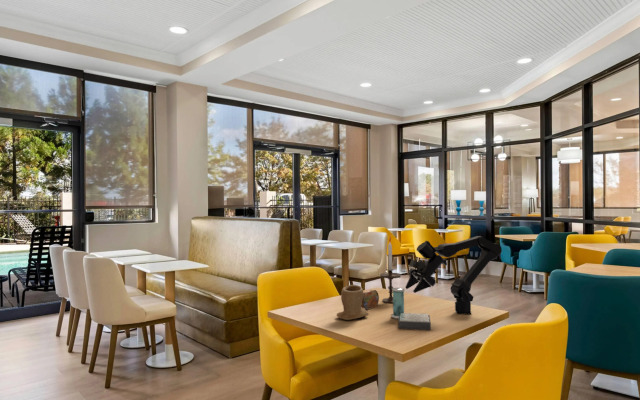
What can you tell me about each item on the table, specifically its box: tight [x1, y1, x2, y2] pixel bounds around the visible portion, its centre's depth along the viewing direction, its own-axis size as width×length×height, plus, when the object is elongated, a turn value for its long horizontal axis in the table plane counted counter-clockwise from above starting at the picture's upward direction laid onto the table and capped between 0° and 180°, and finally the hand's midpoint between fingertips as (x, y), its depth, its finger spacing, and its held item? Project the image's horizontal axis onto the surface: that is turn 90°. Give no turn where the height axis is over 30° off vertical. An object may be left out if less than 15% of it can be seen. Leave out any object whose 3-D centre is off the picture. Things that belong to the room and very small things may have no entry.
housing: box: [390, 287, 405, 320], centre depth 192 cm, size 7×7×13 cm
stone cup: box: [336, 284, 369, 321], centre depth 192 cm, size 15×12×15 cm
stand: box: [398, 312, 432, 331], centre depth 179 cm, size 13×13×4 cm
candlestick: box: [379, 236, 402, 305], centre depth 224 cm, size 11×11×35 cm
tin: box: [361, 289, 380, 311], centre depth 211 cm, size 15×3×8 cm, turn 143°
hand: (409, 290), depth 194 cm, fingers open, 9 cm apart
